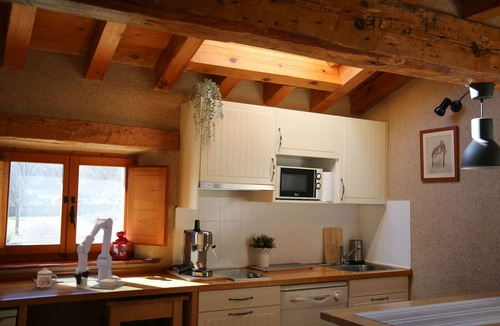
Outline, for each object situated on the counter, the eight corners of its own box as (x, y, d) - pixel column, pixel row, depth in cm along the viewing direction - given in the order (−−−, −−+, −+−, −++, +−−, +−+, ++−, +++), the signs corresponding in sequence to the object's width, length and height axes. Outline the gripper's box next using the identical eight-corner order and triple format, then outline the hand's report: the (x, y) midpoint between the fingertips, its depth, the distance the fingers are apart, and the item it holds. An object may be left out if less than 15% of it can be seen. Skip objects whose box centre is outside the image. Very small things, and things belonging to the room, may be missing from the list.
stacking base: (104, 282, 337) (104, 277, 338) (126, 284, 334) (126, 278, 334) (89, 288, 318) (89, 282, 318) (112, 289, 315) (112, 283, 315)
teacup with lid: (36, 288, 313) (37, 269, 314) (36, 285, 322) (37, 267, 322) (56, 287, 317) (57, 269, 318) (56, 284, 326) (57, 266, 327)
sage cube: (80, 284, 328) (80, 277, 329) (87, 285, 327) (87, 277, 328) (76, 286, 324) (76, 278, 324) (83, 286, 323) (83, 278, 323)
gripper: (83, 260, 334) (82, 281, 334) (71, 263, 320) (70, 284, 319) (92, 261, 333) (91, 281, 332) (81, 264, 319) (80, 285, 318)
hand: (81, 283), depth 326 cm, fingers open, 7 cm apart
